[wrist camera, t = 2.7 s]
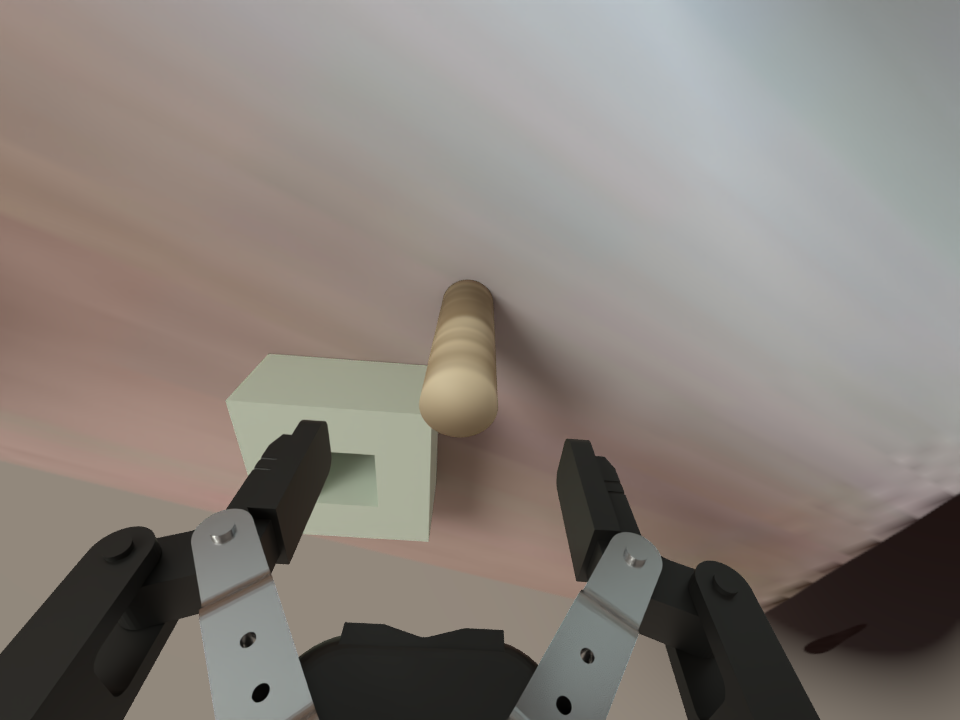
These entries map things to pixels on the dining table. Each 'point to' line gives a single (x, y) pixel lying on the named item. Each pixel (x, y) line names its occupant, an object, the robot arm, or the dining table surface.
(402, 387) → the hole block
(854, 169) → the dining table surface
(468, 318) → the peg
